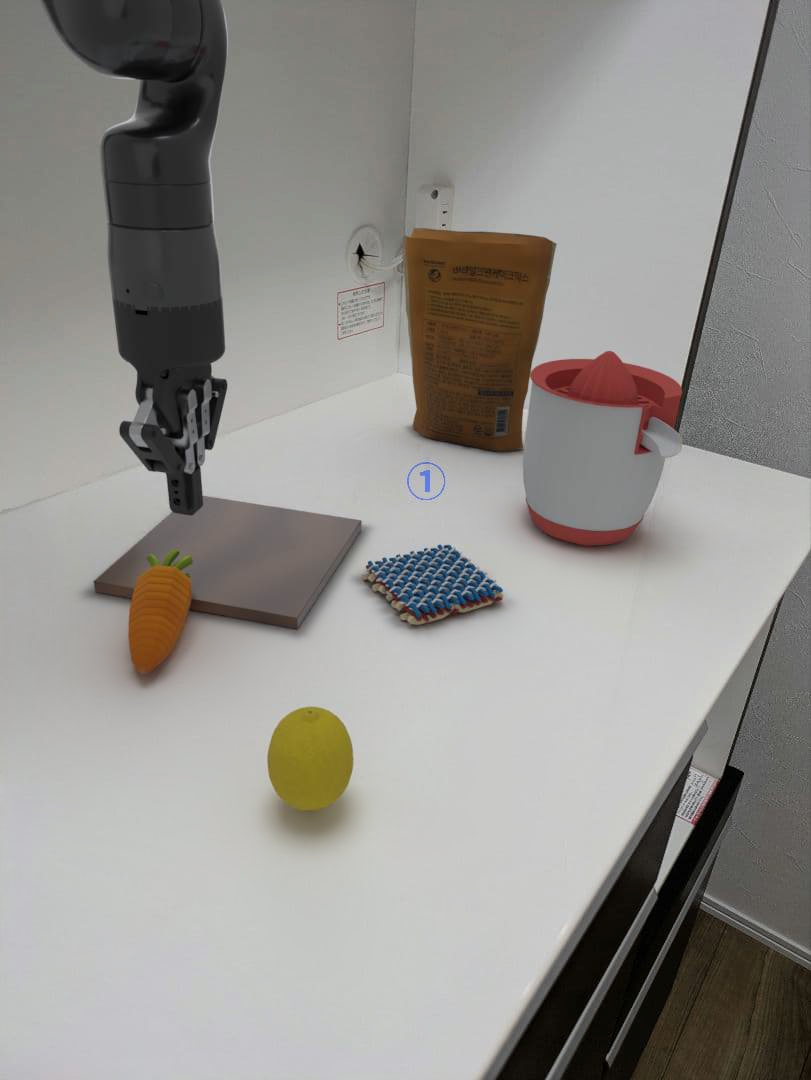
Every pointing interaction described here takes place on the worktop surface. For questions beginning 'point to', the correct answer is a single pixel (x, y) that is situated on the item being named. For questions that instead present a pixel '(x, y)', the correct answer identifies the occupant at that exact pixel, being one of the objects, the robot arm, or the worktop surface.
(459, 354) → the pancake mix bag
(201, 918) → the worktop surface
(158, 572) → the carrot
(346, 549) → the walnut board
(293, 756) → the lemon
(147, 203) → the robot arm
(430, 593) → the woven mat
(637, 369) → the citrus juicer
